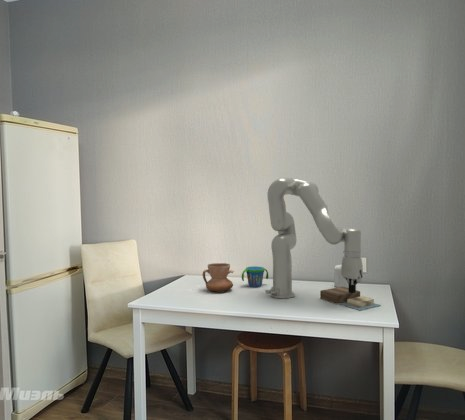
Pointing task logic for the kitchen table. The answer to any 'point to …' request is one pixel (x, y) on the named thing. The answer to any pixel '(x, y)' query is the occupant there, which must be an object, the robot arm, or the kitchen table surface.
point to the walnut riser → (338, 295)
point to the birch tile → (360, 301)
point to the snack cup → (254, 275)
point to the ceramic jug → (218, 277)
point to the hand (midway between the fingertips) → (352, 292)
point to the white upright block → (339, 278)
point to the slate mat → (360, 307)
